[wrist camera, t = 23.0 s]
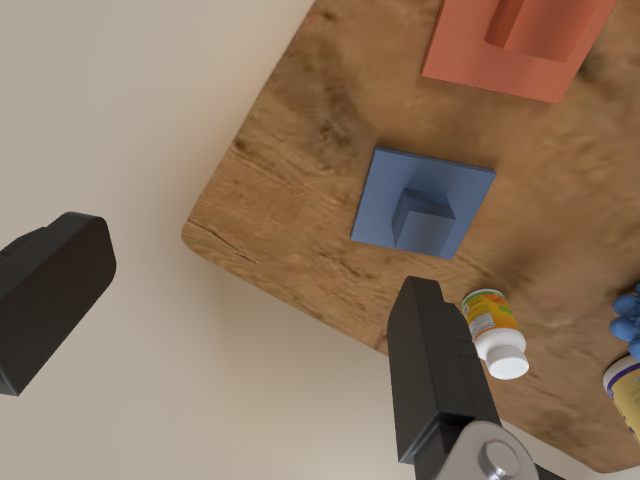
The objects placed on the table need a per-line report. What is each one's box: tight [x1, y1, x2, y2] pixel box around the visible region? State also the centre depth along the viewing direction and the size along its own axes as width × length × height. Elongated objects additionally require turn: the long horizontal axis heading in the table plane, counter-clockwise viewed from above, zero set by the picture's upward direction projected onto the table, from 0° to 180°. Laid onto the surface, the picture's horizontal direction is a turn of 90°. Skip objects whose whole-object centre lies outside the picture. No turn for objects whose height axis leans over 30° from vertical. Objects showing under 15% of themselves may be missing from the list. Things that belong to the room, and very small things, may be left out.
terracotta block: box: [484, 0, 600, 63], centre depth 24 cm, size 4×4×4 cm
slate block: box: [391, 188, 457, 256], centre depth 35 cm, size 4×4×4 cm
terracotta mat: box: [420, 0, 618, 104], centre depth 26 cm, size 12×11×1 cm
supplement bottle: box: [462, 289, 529, 379], centre depth 41 cm, size 5×5×10 cm
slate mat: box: [350, 146, 496, 259], centre depth 37 cm, size 12×11×1 cm
